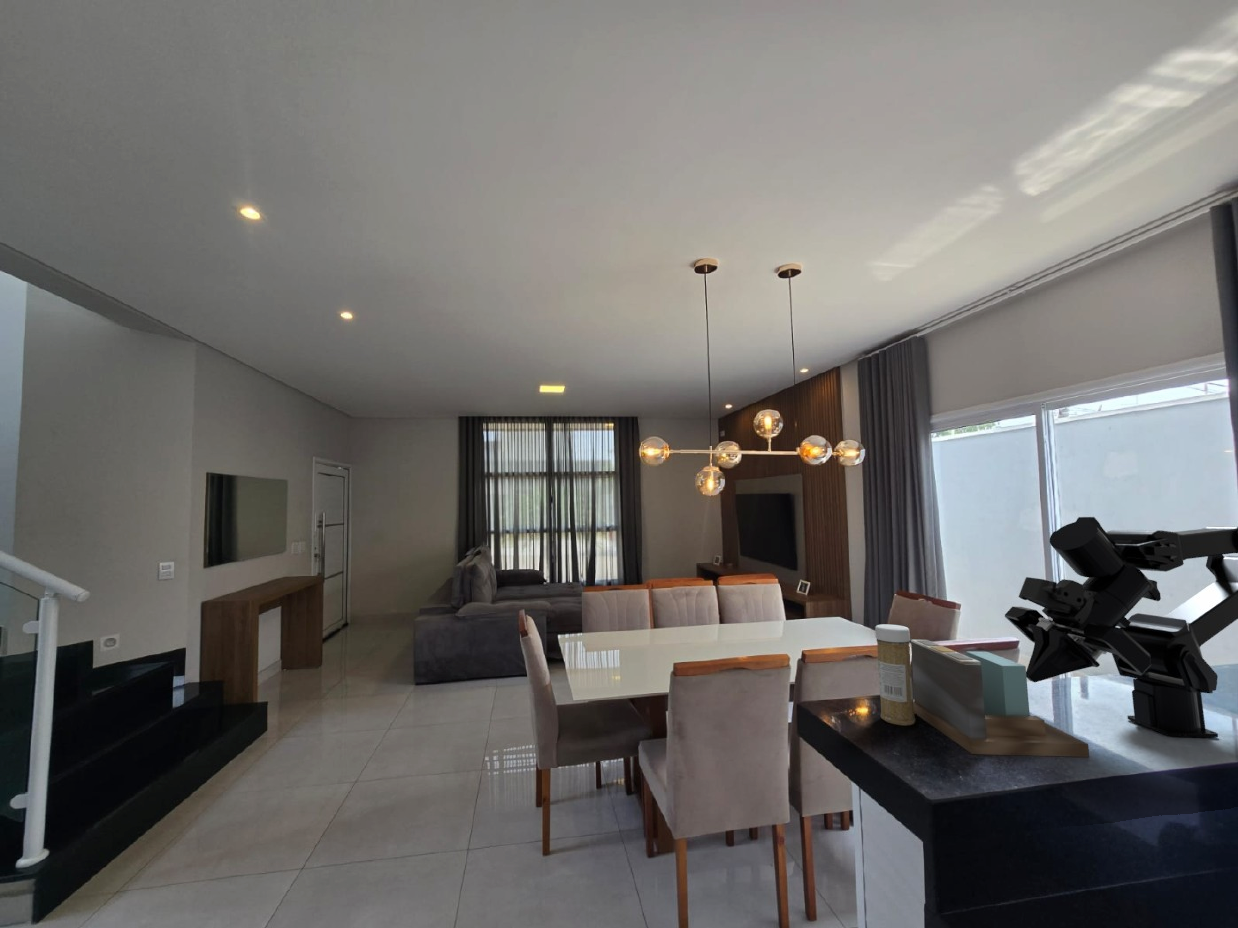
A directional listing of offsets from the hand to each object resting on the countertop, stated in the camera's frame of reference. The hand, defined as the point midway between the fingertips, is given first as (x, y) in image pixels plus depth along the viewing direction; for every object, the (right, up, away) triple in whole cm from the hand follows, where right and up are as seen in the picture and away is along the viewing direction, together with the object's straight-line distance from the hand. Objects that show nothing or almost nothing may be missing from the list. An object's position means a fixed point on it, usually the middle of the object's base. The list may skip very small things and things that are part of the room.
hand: (1029, 679), depth 73 cm
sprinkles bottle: (-17, -8, +3) cm, 19 cm away
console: (-6, -7, 0) cm, 9 cm away
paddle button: (-4, -5, 0) cm, 7 cm away
